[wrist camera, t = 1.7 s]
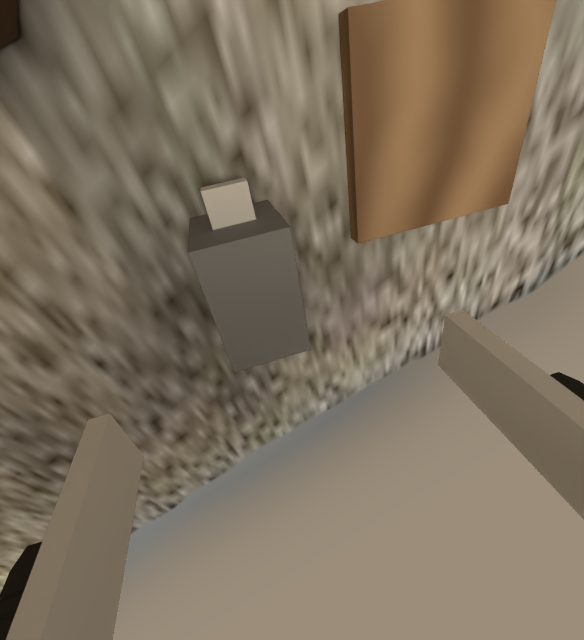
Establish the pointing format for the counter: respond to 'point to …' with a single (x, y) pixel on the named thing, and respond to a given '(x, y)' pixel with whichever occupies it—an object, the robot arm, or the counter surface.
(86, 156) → the counter surface
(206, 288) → the plug
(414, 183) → the walnut board
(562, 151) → the counter surface
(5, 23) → the beer bottle
